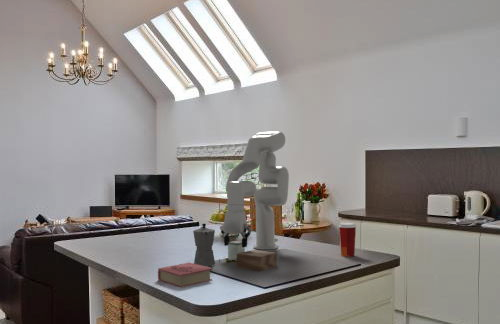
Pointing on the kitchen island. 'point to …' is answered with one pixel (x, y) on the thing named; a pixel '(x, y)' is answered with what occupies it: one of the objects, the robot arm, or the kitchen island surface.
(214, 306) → the kitchen island surface
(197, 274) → the book
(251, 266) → the walnut box
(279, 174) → the robot arm
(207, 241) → the coffeepot
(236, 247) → the tea tin
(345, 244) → the coffee cup
